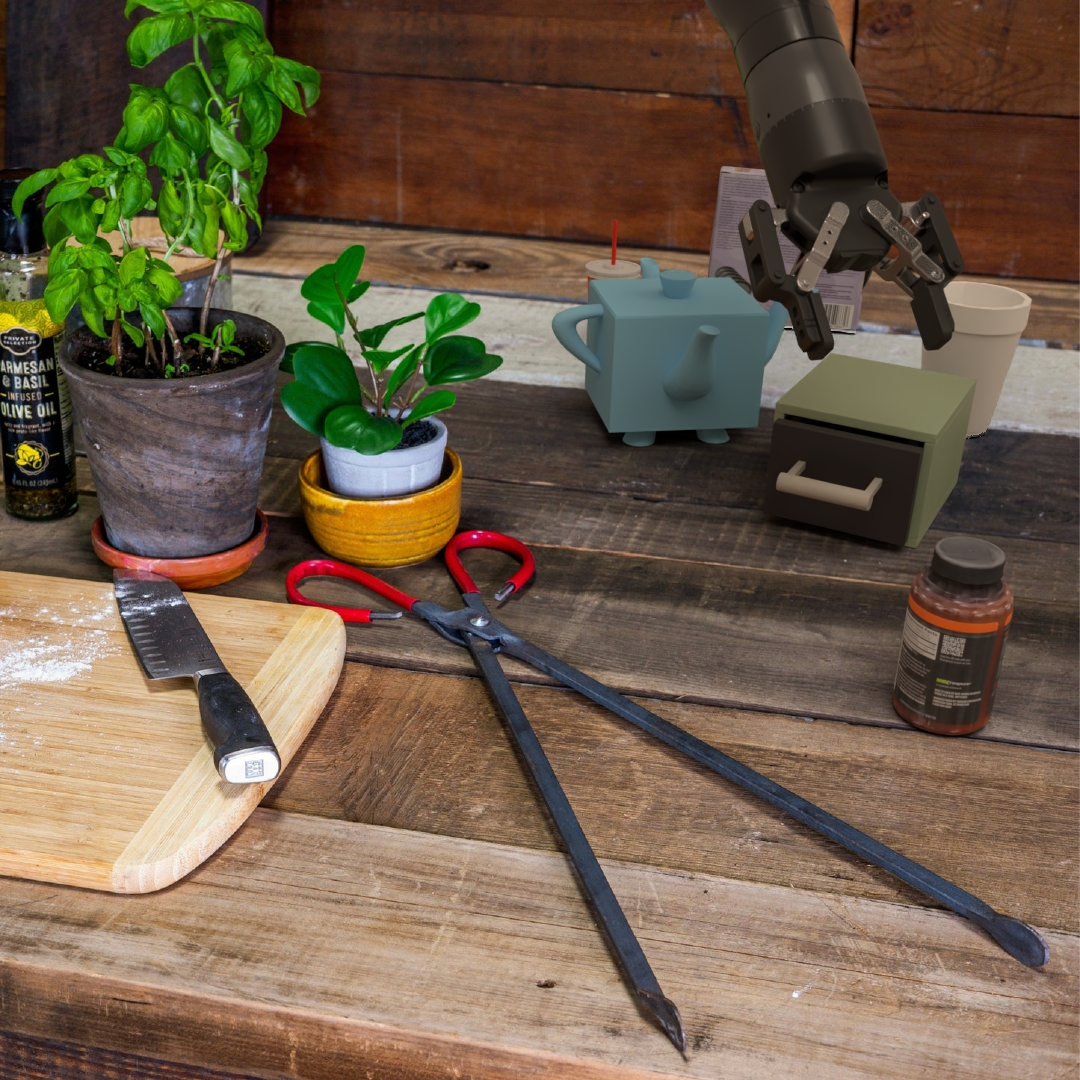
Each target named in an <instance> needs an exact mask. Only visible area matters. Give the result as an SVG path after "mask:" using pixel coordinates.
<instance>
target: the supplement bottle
mask: <svg viewBox="0 0 1080 1080" xmlns="http://www.w3.org/2000/svg"><path fill="white" fill-rule="evenodd" d="M1006 559H1007V558H1006V554H1005V552H1004V551H1003V550H1002V549H1001V548H1000V547H998V546H997V545H996V544H993V543H991V542H989V541H987V540H984V539H981V538H978V537H973V536H960V535H958V536H957V535H956V536H950V537H945V538H942V539H940V540H939V541H937V542H936V544H935V545H934V549H933V554H932V558H931V561H930V564H931V565H930V566H929V567H927V568H925V569H923V570H921V571H920V572H919V573H918V574H917V575H916V576H915V578H914V579H913V580H912V583H911V586H910V589H909V594H908V601H907V604H906V605H907V606H906V612H905V618H904V624H903V630H902V636H901V642H900V647H899V653H898V659H897V664H896V671H895V677H894V683H893V692H892V704H893V707H894V708H895V710H896V712H897V713H898V714H899V715H900V716H901V718H902V719H904V720H905V721H906V722H908V723H909V724H911V725H912V726H913V727H916V728H919V729H920V730H921V729H922V730H924V731H927V732H928V733H929V732H930V733H933V734H938V735H947V736H959V735H968V734H971V733H975V732H977V731H979V730H981V729H982V728H984V727H985V726H986V725H987V724H988V722H989V721H990V718H991V715H992V711H993V708H994V703H995V698H996V694H997V689H998V684H999V679H1000V674H1001V671H1002V665H1003V661H1004V656H1005V652H1006V647H1007V642H1008V637H1009V633H1010V627H1011V623H1012V622H1011V621H1012V619H1013V614H1014V607H1015V599H1014V597H1015V596H1014V594H1013V591H1012V590H1011V588H1010V586H1009V585H1008V584H1007V583H1006V582H1005V581H1004V580H1002V579H1003V577H1004V569H1005V564H1006Z"/></svg>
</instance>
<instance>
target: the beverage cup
mask: <svg viewBox="0 0 1080 1080" xmlns="http://www.w3.org/2000/svg"><path fill="white" fill-rule="evenodd" d="M612 223H613V224H612V241H611V259H597V260H596V259H595V260H591V261H589V262H587V263H585V268H584V269H585V275H586V276H587V298H588V297H589V282H590V280H605V279H639V278H640V277H641V273H642V271H641V265H640V264H638V263H635V262H633V261H630V260H629V261H628V260H623V259H617V245H618V244H617V242H618V226H619V225H618V224H619V220H618V219H613V222H612Z"/></svg>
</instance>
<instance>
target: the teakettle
mask: <svg viewBox="0 0 1080 1080" xmlns="http://www.w3.org/2000/svg"><path fill="white" fill-rule="evenodd" d="M639 266H641V278H638V279H605V280H590V282H589V297H588V296H587V304H584V305H578V306H573V307H569V308H565V309H563V310H561V311H559V312H557V313H556V314H555V315H554V316H553V318H552V320H551V330H552V332H553V334H554V336H555V338H556V340H557V341H558V343H559V344H560V345H561V346H562V347H563V348H564V349H565V350H566V351H567V352H568V353H569V354H570V355H572V356H573V357H574V358H575V359H577V360H578V361H579V362H581V363H582V364H584V365H585V367H584V389H585V391H586V393H587V395H588V397H589V398H590V400H591V401H592V403H593V406H594V407H595V410H596V411H597V413H598V415H599V416H600V418H601V420H602V422H603V424H604V426H605V427H606V429H607V431H608V433H624V435H623V437H622V442H623V443H625V444H627V445H628V446H632V447H648V446H651V445H653V444H654V443H655V440H656V434H657V432H665V431H688V430H689V431H691V430H693V431H694V430H695V431H696V436H697V438H698V440H699V441H702V442H704V443H707V444H723V443H727V442H729V440H730V436H729V435H728V432H727V431H726V429H745V428H747V429H748V428H758V427H759V419H760V412H761V402H762V393H763V385H764V384H763V383H764V374H765V368H766V366H767V365H768V364H769V363H770V362H771V360H772V359H773V357H774V355H775V353H776V351H777V349H778V347H779V344H780V341H781V339H782V336H783V333H784V330H785V329H784V327H785V325H786V322H787V320H788V318H789V312H788V310H787V309H786V308H784V307H783V305H782V304H781V303H779V302H774V303H773V305H772V306H771V308H770V310H769V312H767V311H766V310H765V309H764V308H763V307H762V306H761V305H760V304H759V303H758V302H756V301H755V300H754V299H753V298H752V297H751V296H750V295H749V294H748V293H747V292H746V291H745V290H744V289H743V288H741V287H740V286H739V285H738V284H737V283H736V282H735V281H734V280H732V278H731V277H720V278H708V277H698V275H697V274H696V273H694V272H692V271H689V270H685V269H667V270H664V271H661V269H660V266H659V264H658V262H657V261H656V260H655V259H654V258H651V257H645V256H644V257H641V258H640V260H639ZM812 291H813V293H816V292H818V291H819V289H815V288H814V289H813V290H812ZM586 320H587V321H586ZM583 321H586V322H587V324H586V343H585V342H584V341H583V339H582V338H581V336H580V334H579V332H578V330H577V326H578V324H579V323H580V322H583Z"/></svg>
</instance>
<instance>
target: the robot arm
mask: <svg viewBox="0 0 1080 1080" xmlns="http://www.w3.org/2000/svg"><path fill="white" fill-rule="evenodd" d="M703 2H704V3H705V5H706V6H707V9H708V10H709V12H710V13H711V15H712V17H713V18H714V20H715V22H716V23H717V25H719V27H720V28H721V30H722V31H723V33H724V34H725V36H726V37H727V39H728V40H729V42H730V45H731V47H732V51H733V56H734V59H735V63H736V67H737V70H738V72H739V76H740V80H741V83H742V87H743V90H744V93H745V97H746V102H747V103H746V104H747V112H748V118H749V122H750V126H751V129H752V132H753V136H754V140H755V143H756V146H757V150H758V152H759V157H760V160H761V163H762V166H763V170H765V173H766V177H767V180H768V183H769V187H770V190H771V193H772V197H773V200H774V203H775V206H776V208H777V209H775V208H771V207H770V205H769V204H768V203H767V202H766V201H764V200H761V199H759V200H756V201H755V202H754V203H753V205H752V206H751V208H750V209H749V210H748V212H747V213H746V214H745V216H744V217H743V219H742V220H741V221H740V223H739V224H738V230H739V235H740V239H741V244H742V248H743V252H744V257H745V261H746V266H747V270H748V275H749V279H750V283H751V288H752V292H753V296H754V298H755V299H756V300H757V301H758V302H761V303H766V302H768V301H769V300H771V301H775V302H779V303H781V304H782V305H783V307H784V308H786V309H787V310H788V312H789V316H790V319H791V323H792V326H793V329H792V330H793V331H794V336H795V339H796V343H797V346H798V347H799V349H800V350H801V352H802V353H806V356H807V358H808V360H809V361H811V362H813V361H822V360H824V359H825V358H826V357H827V356H828V355H829V354H830V353H832V351H833V350H834V348H835V338H834V335H833V332H831V328H830V325H829V322H828V318H827V315H826V312H825V309H824V305H823V302H822V299H821V295H820V293H813V291H812V290H813V289H814V288H815V285H816V283H817V281H818V278H819V276H820V274H821V271H822V269H825V270H826V271H827V274H832V273H839V272H842V271H845V270H852V271H858V272H863V271H870V270H871V269H872V270H873V271H872V272H874V273H875V274H876V275H877V276H878V277H880V279H882V280H883V281H885V282H893V283H894V284H895V285H896V286H898V287H899V288H900V289H901V290H902V291H903V292H905V293H906V294H907V296H909V297H910V298H911V299H912V300H911V301H910V302H909V305H910V308H911V311H912V314H913V317H914V320H915V323H916V326H917V329H918V332H919V335H920V339H921V343H922V342H923V345H924V348H925V349H926V350H927V351H932V350H939V349H940V348H941V347H943V346H944V345H945V344H946V343H947V342H949V341H950V340H951V338H952V332H954V330H955V323H954V320H953V317H952V314H951V311H950V308H949V305H948V302H947V299H946V296H945V293H944V288H945V287H946V286H947V285H948V284H949V283H950V282H952V281H954V279H955V278H956V277H958V276H959V275H961V274H962V273H963V272H964V271H965V269H966V263H965V260H964V258H963V255H962V253H961V250H960V248H959V246H958V243H957V240H956V237H955V235H954V233H953V230H952V228H951V225H950V223H949V220H948V218H947V215H946V213H945V211H944V208H943V206H942V203H941V200H940V198H939V197H938V195H936V194H935V193H934V192H926V193H924V194H923V196H921V197H920V199H918V200H916V201H906V202H900V200H898V198H896V196H895V195H894V194H893V192H892V191H891V189H890V186H889V164H888V159H887V156H886V154H885V151H884V148H883V145H882V142H881V139H880V135H879V133H878V129H877V126H876V124H875V120H874V118H873V114H872V112H871V109H870V105H869V103H868V99H867V97H866V94H865V90H864V88H863V84H862V81H861V79H860V76H859V74H858V72H857V70H856V69H855V66H854V65H853V63H852V61H851V59H850V56H849V54H848V52H847V50H846V47H845V43H844V41H843V37H842V35H841V32H840V31H841V30H840V29H839V25H838V22H837V19H836V15H835V13H834V10H833V7H832V5H831V3H830V0H703ZM780 232H782V234H783V235H784V236H785V237H786V238H788V239H789V240H790V241H791V242H792V243H793V244H794V245H795V246H796V247H797V248H798V249H799V250H800V252H799V254H798V257H797V259H796V261H795V263H794V266H793V268H792V270H791V272H790V275H788V274H786V270H785V266H784V262H783V258H782V253H781V249H780V245H779V241H778V235H779V234H780ZM892 246H893V247H895V248H896V249H897V250H898V255H897V257H895V258H890V257H888V256H887V255H888V254H889V252H891V251H890V250H891V248H892ZM909 268H911V270H913V271H914V272H915V273H916V274H917V275H918V276H919V277H918V276H917V275H916V274H915V273H914V272H912V271H911V270H910V269H909Z"/></svg>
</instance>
